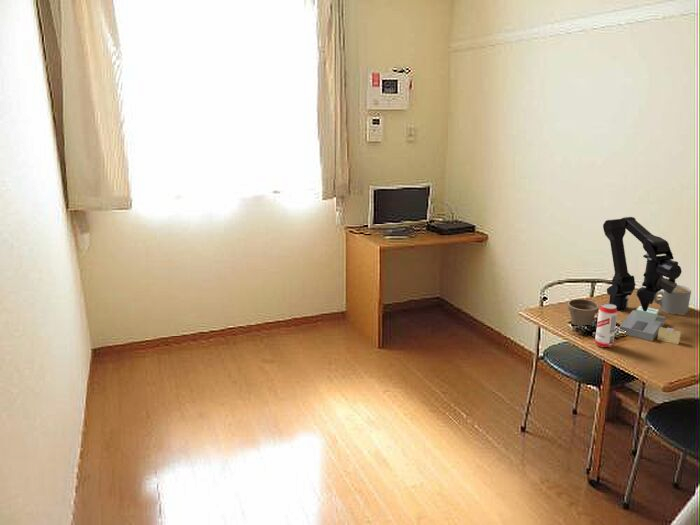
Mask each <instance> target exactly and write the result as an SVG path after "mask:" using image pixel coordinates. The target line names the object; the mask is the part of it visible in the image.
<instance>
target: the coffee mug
mask: <svg viewBox="0 0 700 525" xmlns="http://www.w3.org/2000/svg"><path fill="white" fill-rule="evenodd" d="M659 295H661V299H660V300H659V299H657V297H658V296H659ZM691 296H692V289H691V288H690V287H688V286H685V285H680V284H677V286H676V287H675V289H674V290H673V292H672V293H671V294H670V293H667V292H666V291H665V290H663V289H662V290H660V291H658V292H657V294H656V297H655V299H654V301H653V303H655V304H657V305H659V306H660V310H661V311H662V312H664V313H666V312H667V314H669V313H670V315H674V314H678V315H677V316H681V315H680V314H684V315H687V314H688V311H689V305H690V300H691ZM686 313H687V314H686Z"/></svg>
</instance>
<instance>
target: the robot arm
mask: <svg viewBox="0 0 700 525" xmlns="http://www.w3.org/2000/svg"><path fill="white" fill-rule="evenodd" d="M602 228H603V232H604V236H605V237H606V238H607V239H608V241H609V242H610V244H609V245H610V249H611V250H610V251H611V255H612V262H613V270H614V274H613V275H614V276H613V277H612V280H611V282H612V283H611V285H610V286H609V287H607V288H606V294H607V295H609V304H613V305H615V306H616V307H617V308H616V309H617V311H618V312H624V311H625V310H626V309H627V308H628V305H629V298H628V296H632V294H633V292H634V290H635V289H636V281H635V280H636V279H635V276H634V275H631V274H630V273H629V270H628V264H627V258H626V250H625V246H624V237H625V235H626V230H627V231H628V232H629V233H630V234H631V235H632V236H634V237H635V238H636V240H638V241H639V242H641V244H642V248H643V250H644V251H645V252H646V253H645V254H644V255H643V256H642V257H643V258H645V259H646V264H645V265H646V266H645V271H644V273H643V277H644V278H643V282H642V283H641V287H640V288H638V289H637V291H636V295H635V296H636V297H637V298H638V300H639V303H640V306H642V308H643V311H647V309H648V308H649V306H650V305H653V303H654V299H655V297H656V294H657V292H658V291H663V290H665V291H666V292H667V293H670V294H671V293H672V292H673V290H674V289H675V287H676V286H677V285H678V283H677V282H676V280H677V279H679V277H680V276H681V274H682V268H681V266H680V265H679V262H678V261H676V260H674V256H673V252H672V250H671V247H670V244H669V242H668V241H667V240H666V239H664V238H662V237H660V236H658V235H655V234H653V233H651V232H650V231H649V230H648V229H646V227H645V226H643V225H642V224H641V223H639V222H638V221H637V220H636V218H635V217H634V216H626V217H622V218H616V219H614V218H613V219H607V220H605V221H604V222H603V224H602ZM665 277H666V278H665Z"/></svg>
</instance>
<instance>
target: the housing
mask: <svg viewBox="0 0 700 525" xmlns="http://www.w3.org/2000/svg"><path fill="white" fill-rule="evenodd" d="M636 311H637V309H633V310H632V311H631V312H630V313H629V314H628V315H627V317H625V319H624V320H623V322H621V324H620V325H619V328H620V329H622V330H624V331H626V334H627V335H626V336H628V335H629V336H628V337H632V336H633V337H632V338H637V339H642V340H646V341H649V342H653V341H654V340H655V338H657V336H658V332H659V328H660V327H663V326H664V325H665V322H666V316H663V315H659V314H658V317H657V318H656V320H655V321H654V320H649V319H645V318H640V317H636Z"/></svg>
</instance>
